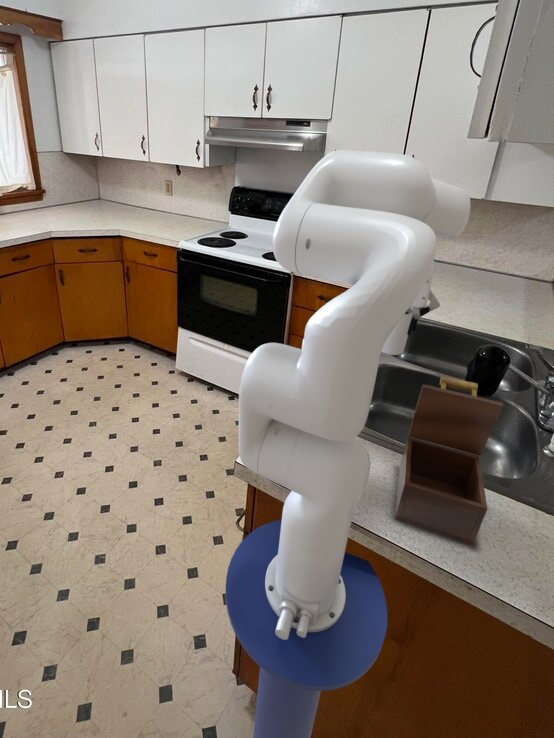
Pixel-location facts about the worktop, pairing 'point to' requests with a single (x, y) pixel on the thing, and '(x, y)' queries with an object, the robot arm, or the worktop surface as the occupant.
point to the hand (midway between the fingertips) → (394, 328)
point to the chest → (441, 490)
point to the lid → (454, 416)
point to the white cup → (398, 335)
